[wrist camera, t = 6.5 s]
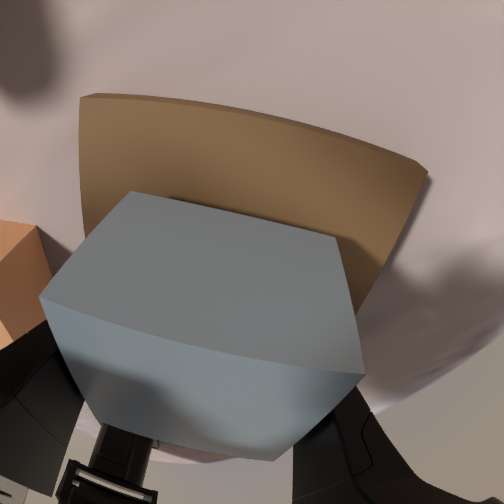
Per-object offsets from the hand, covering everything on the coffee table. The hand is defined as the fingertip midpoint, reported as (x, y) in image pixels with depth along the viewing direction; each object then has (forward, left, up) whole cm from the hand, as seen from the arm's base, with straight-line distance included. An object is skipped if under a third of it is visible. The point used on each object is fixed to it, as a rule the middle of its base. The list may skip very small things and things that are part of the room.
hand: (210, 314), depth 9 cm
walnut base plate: (0, 0, -3) cm, 3 cm away
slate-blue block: (0, 0, -1) cm, 1 cm away
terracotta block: (-4, +12, -3) cm, 13 cm away
